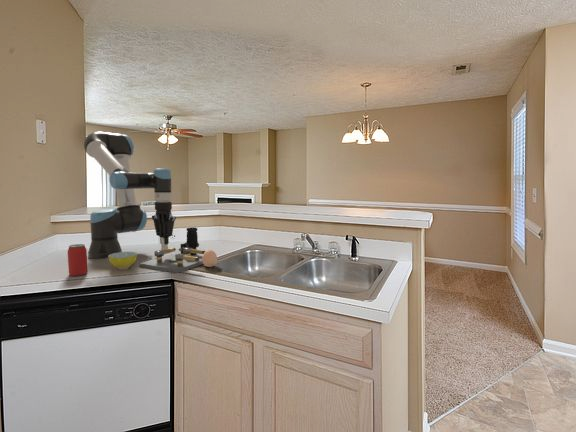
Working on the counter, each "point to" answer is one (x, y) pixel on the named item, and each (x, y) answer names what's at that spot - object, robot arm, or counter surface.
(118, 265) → the bowl
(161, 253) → the knob near
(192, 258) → the knob
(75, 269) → the beer can
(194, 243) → the scope
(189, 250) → the knob
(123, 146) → the robot arm
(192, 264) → the base
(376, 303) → the counter surface
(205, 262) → the egg
